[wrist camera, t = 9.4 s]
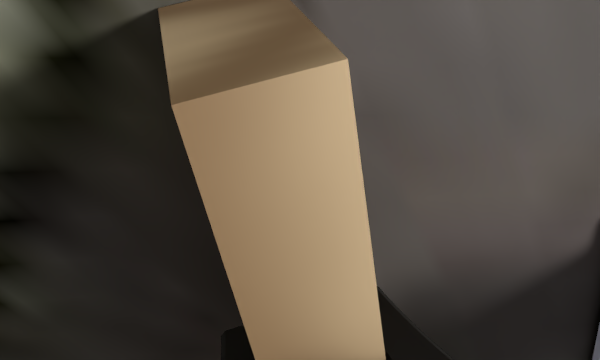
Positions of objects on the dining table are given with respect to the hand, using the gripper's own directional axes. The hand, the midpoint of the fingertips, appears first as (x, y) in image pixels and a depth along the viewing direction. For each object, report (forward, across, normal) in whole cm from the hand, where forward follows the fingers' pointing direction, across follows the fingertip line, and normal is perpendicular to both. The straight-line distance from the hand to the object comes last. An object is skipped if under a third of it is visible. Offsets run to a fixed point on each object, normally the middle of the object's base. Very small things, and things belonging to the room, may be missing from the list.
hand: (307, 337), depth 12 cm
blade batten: (+2, 0, +1) cm, 2 cm away
